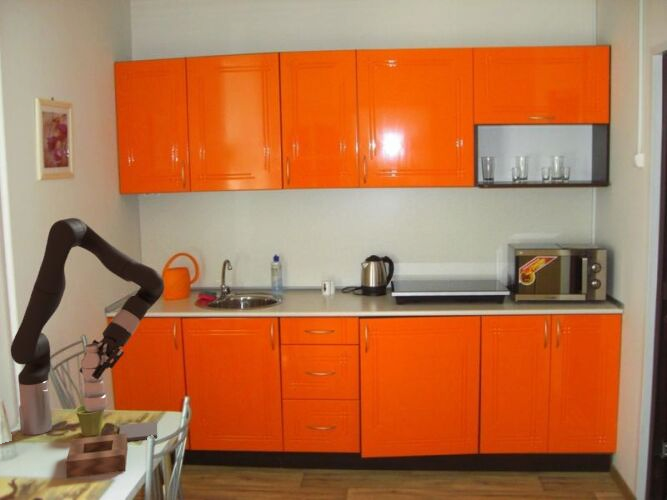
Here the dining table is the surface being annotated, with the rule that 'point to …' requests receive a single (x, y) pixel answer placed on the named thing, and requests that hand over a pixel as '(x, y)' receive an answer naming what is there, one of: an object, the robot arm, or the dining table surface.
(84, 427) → the plant pot
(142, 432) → the slate mat
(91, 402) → the plastic bottle
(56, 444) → the dining table surface
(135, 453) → the dining table surface
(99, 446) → the pocket block
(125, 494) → the dining table surface
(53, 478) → the dining table surface
